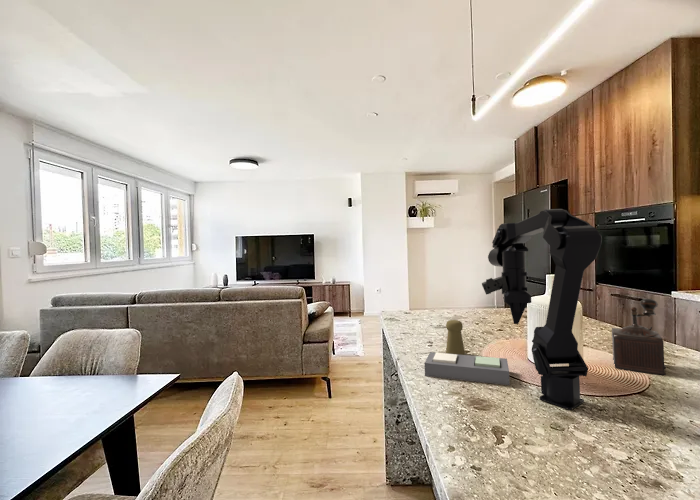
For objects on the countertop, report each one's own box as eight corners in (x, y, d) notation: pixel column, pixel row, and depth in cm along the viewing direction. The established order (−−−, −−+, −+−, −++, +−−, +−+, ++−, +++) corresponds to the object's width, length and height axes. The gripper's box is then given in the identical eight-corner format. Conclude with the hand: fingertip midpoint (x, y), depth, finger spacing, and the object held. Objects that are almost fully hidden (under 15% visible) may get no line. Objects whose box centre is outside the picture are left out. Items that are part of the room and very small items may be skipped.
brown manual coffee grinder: (669, 376, 84) (667, 306, 84) (614, 368, 90) (611, 303, 91) (659, 359, 96) (657, 298, 97) (611, 353, 103) (609, 296, 103)
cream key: (457, 365, 95) (457, 354, 95) (455, 373, 89) (455, 361, 89) (436, 363, 97) (435, 352, 97) (433, 370, 91) (432, 359, 91)
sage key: (499, 369, 90) (499, 358, 90) (500, 377, 85) (499, 365, 85) (476, 367, 93) (475, 356, 93) (475, 375, 87) (475, 363, 87)
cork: (466, 357, 104) (465, 322, 104) (446, 356, 105) (445, 322, 105) (463, 351, 110) (462, 318, 110) (445, 350, 111) (443, 318, 111)
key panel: (507, 371, 91) (506, 358, 91) (509, 385, 82) (509, 371, 82) (430, 363, 99) (430, 352, 99) (424, 375, 90) (424, 362, 90)
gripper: (483, 266, 104) (485, 315, 104) (482, 270, 86) (484, 329, 86) (523, 265, 99) (524, 317, 99) (530, 270, 82) (532, 332, 82)
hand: (516, 323), depth 92 cm, fingers closed
